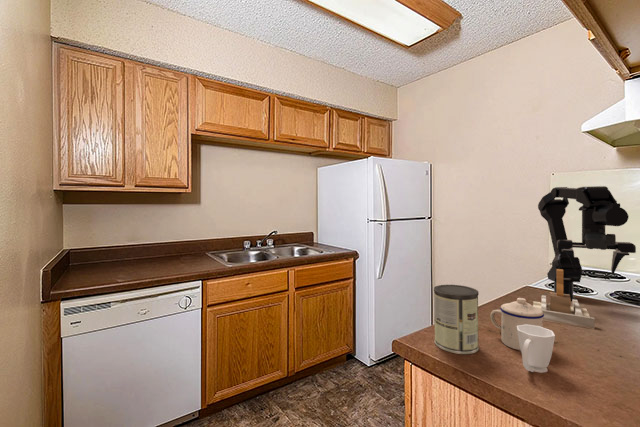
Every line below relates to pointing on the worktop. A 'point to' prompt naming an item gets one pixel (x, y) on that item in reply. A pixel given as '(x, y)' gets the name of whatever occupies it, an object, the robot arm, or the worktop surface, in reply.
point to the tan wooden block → (560, 297)
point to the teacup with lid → (516, 320)
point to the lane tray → (575, 318)
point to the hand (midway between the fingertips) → (593, 272)
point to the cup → (535, 347)
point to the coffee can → (456, 318)
